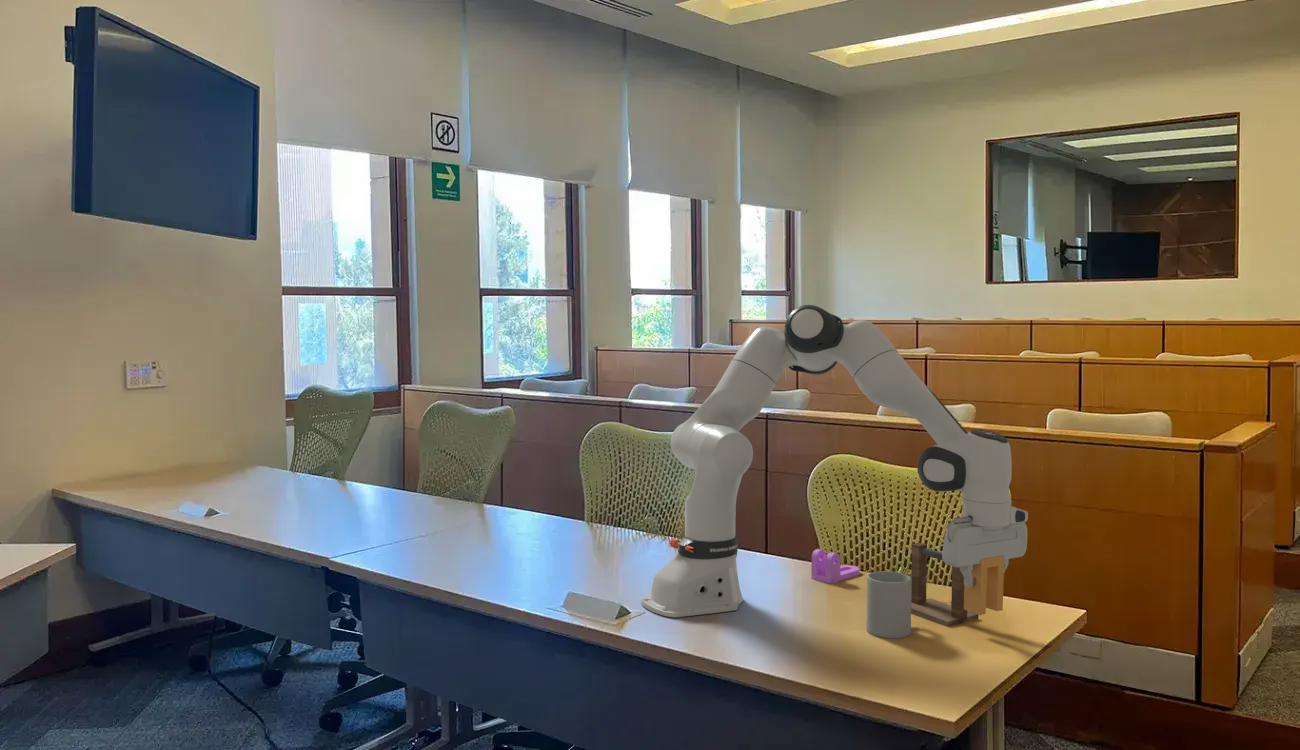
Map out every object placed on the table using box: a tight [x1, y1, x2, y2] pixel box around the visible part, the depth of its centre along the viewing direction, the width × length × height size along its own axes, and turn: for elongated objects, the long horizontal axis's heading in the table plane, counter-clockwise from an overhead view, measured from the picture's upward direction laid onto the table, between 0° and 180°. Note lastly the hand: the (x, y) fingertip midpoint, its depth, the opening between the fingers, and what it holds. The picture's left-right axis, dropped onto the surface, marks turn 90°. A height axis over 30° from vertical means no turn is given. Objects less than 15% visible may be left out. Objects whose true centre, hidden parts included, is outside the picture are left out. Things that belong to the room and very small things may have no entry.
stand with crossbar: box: [910, 542, 979, 627], centre depth 196 cm, size 9×13×14 cm
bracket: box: [811, 548, 860, 585], centre depth 226 cm, size 13×6×7 cm, turn 131°
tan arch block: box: [964, 556, 1005, 616], centre depth 185 cm, size 6×4×11 cm, turn 120°
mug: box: [865, 570, 912, 639], centre depth 187 cm, size 12×8×11 cm
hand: (983, 583), depth 185 cm, fingers closed on tan arch block, 6 cm apart
